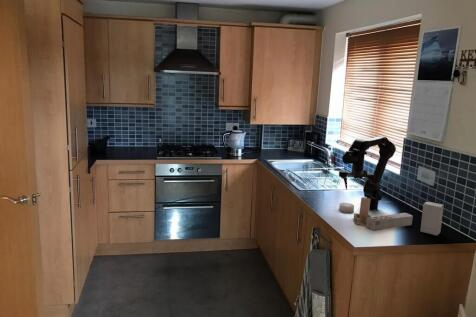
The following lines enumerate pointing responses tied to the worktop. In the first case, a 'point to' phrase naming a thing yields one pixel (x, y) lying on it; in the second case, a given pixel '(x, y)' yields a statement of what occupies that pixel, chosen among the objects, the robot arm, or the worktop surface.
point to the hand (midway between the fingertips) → (354, 190)
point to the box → (389, 221)
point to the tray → (360, 221)
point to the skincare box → (431, 218)
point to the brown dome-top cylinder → (364, 208)
